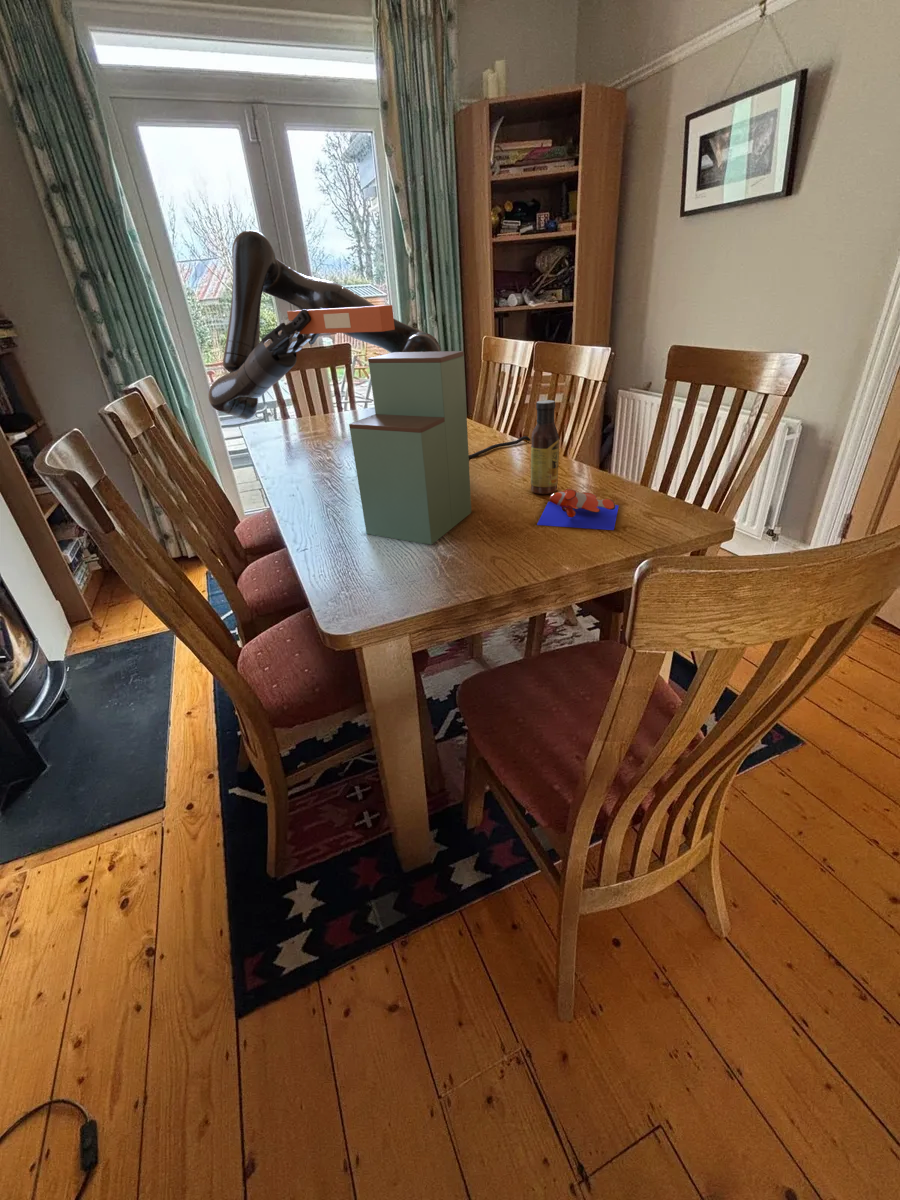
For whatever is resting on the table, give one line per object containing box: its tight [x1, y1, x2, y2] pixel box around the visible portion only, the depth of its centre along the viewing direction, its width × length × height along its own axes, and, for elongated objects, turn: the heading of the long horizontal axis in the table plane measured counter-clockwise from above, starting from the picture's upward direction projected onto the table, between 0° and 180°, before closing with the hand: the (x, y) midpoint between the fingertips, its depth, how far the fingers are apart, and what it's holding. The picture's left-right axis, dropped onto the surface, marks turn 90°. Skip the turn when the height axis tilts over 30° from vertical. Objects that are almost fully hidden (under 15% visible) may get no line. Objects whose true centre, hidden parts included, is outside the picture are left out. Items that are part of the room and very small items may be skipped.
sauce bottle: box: [530, 399, 560, 495], centre depth 118 cm, size 7×6×20 cm
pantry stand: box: [348, 350, 472, 546], centre depth 103 cm, size 16×18×32 cm
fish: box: [548, 488, 617, 518], centre depth 108 cm, size 13×5×9 cm
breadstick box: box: [286, 304, 395, 335], centre depth 100 cm, size 22×4×4 cm, turn 62°
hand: (315, 313), depth 102 cm, fingers closed on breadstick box, 4 cm apart
